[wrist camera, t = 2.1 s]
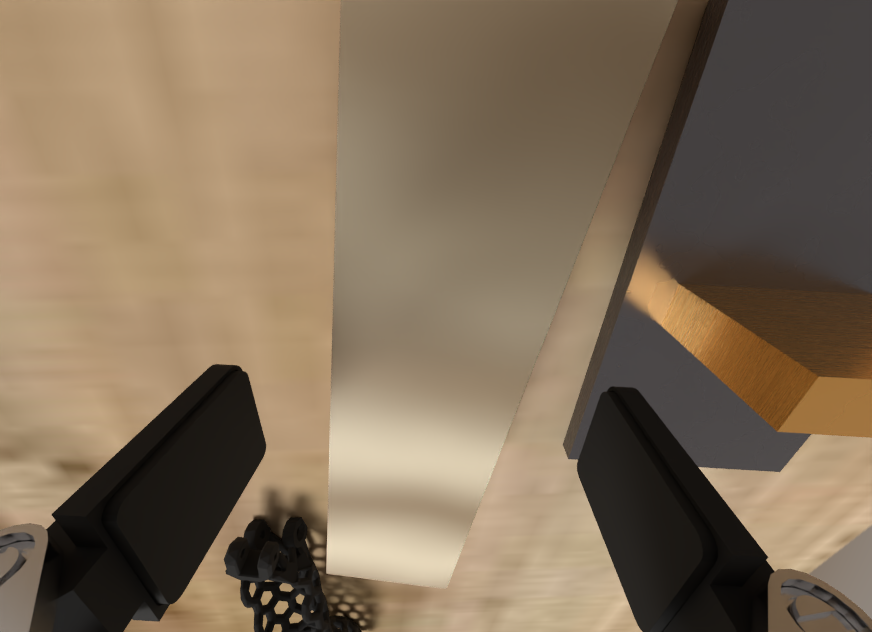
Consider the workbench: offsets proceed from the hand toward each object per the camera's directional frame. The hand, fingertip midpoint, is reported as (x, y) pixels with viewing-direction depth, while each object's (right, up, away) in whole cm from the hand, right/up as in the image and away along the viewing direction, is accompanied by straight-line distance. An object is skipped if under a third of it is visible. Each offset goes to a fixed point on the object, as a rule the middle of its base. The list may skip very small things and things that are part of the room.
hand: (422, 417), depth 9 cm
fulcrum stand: (+14, +3, +6) cm, 16 cm away
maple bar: (0, +4, +6) cm, 8 cm away
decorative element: (-10, -20, +20) cm, 30 cm away
